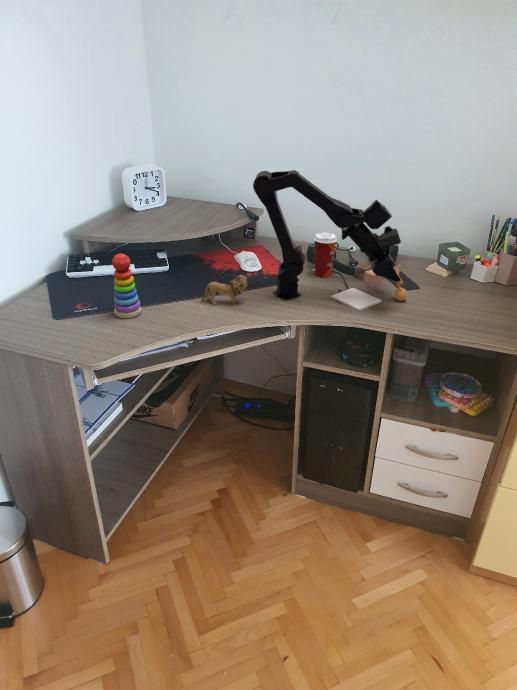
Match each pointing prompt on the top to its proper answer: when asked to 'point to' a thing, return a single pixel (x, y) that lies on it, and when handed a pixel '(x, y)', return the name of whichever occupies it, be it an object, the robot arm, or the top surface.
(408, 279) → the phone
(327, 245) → the paper cup
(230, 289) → the lion figurine
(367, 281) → the terracotta block
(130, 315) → the stacking toy
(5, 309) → the top surface
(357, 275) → the walnut block
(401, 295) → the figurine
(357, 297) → the mat
